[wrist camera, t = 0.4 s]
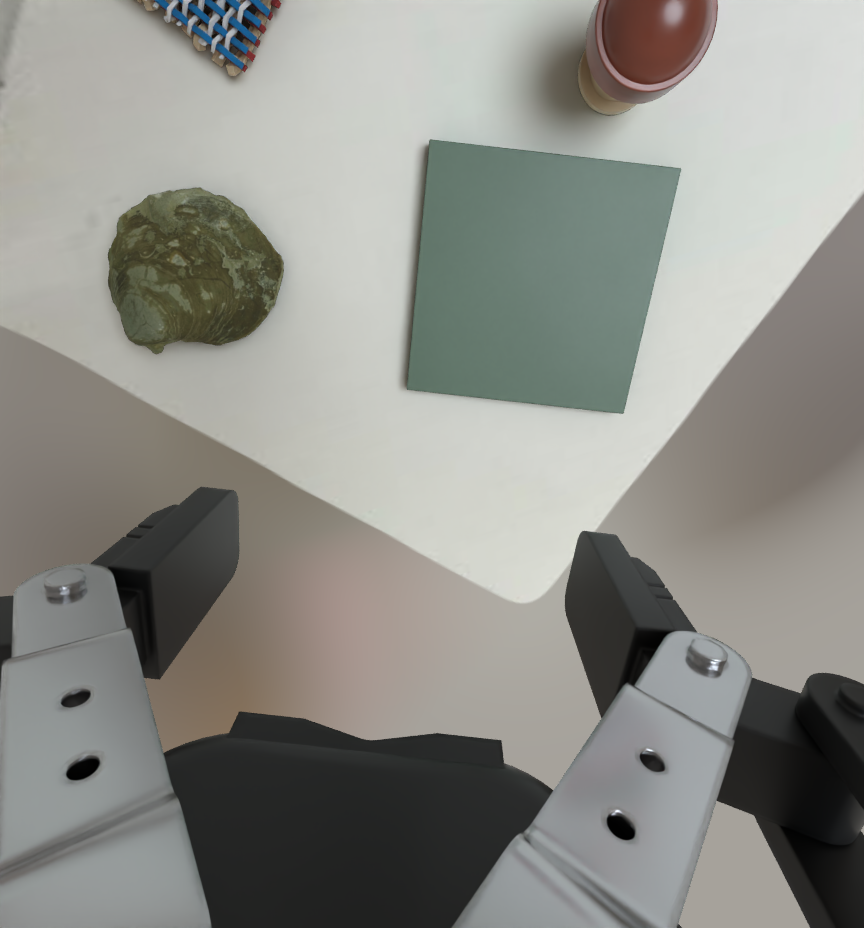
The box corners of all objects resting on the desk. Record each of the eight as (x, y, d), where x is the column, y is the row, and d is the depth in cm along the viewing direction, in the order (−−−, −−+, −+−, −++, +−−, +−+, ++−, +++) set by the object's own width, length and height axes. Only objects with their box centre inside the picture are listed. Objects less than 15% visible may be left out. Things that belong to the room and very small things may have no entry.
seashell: (301, 248, 35) (186, 333, 30) (295, 320, 41) (199, 399, 36) (180, 157, 35) (45, 226, 30) (192, 242, 41) (83, 311, 36)
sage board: (430, 143, 34) (429, 139, 33) (673, 171, 34) (681, 168, 33) (407, 386, 39) (406, 389, 38) (618, 410, 39) (623, 414, 38)
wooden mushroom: (576, 7, 31) (622, -92, 23) (675, 18, 31) (757, -76, 23) (558, 122, 33) (594, 70, 25) (651, 133, 33) (718, 85, 25)
